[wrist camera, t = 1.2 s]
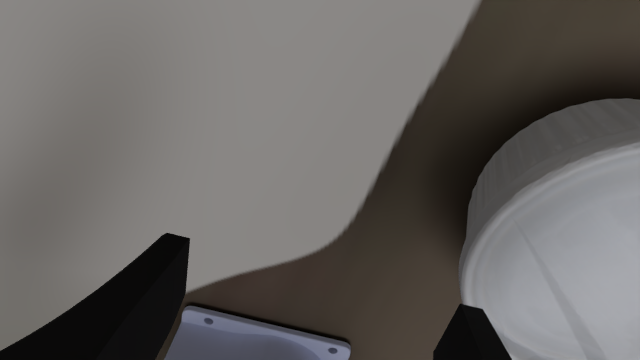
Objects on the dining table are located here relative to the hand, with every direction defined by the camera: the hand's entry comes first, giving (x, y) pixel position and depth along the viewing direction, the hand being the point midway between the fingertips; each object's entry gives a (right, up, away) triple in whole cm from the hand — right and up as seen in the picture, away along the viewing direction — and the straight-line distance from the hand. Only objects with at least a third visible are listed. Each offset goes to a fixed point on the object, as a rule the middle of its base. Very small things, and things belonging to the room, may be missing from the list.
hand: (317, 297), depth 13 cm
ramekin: (+11, +2, +8) cm, 14 cm away
